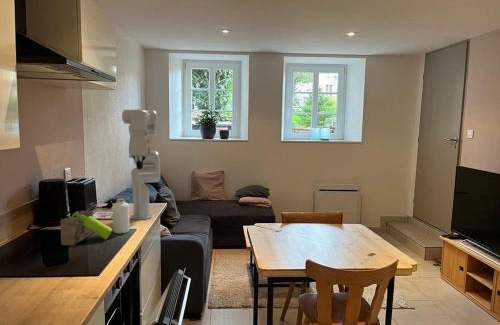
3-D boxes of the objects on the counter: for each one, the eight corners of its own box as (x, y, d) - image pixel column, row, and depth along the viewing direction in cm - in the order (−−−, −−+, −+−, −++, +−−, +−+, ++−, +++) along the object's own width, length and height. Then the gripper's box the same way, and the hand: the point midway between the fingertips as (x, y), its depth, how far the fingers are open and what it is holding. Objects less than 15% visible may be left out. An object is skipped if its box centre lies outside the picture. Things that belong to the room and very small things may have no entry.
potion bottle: (132, 230, 198) (131, 198, 196) (125, 234, 190) (124, 201, 188) (117, 229, 199) (116, 197, 197) (110, 234, 191) (109, 200, 189)
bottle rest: (82, 232, 192) (81, 210, 191) (93, 233, 192) (92, 211, 191) (61, 245, 172) (60, 220, 171) (73, 245, 172) (72, 220, 171)
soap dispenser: (103, 243, 180) (68, 222, 179) (111, 233, 186) (77, 213, 185) (105, 236, 176) (70, 215, 176) (113, 227, 182) (79, 206, 181)
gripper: (155, 133, 190) (156, 168, 192) (127, 133, 190) (128, 167, 192) (150, 134, 182) (151, 170, 184) (122, 133, 183) (122, 169, 185)
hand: (139, 168), depth 188 cm, fingers closed
